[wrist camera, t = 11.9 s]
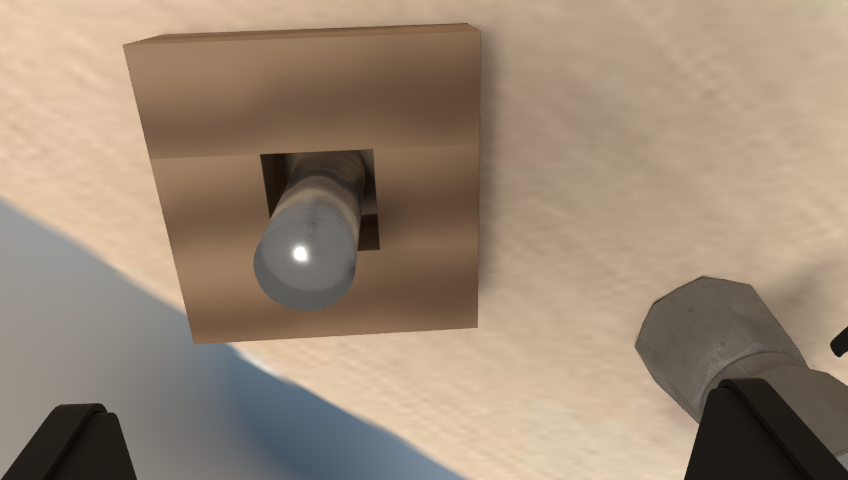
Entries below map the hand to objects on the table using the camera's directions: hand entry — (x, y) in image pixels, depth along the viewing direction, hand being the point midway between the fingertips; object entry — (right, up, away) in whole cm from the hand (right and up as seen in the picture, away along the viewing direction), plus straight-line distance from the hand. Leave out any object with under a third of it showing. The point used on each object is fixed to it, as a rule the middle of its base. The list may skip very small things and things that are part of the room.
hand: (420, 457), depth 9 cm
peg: (-5, +7, +24) cm, 26 cm away
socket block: (-5, +7, +24) cm, 26 cm away
